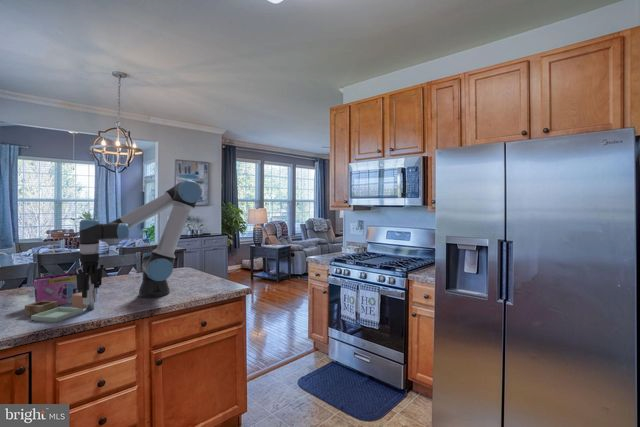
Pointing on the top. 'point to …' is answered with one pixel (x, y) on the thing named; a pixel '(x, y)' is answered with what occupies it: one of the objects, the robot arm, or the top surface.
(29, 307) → the bore block
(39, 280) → the gum box
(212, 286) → the top surface
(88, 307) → the pin
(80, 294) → the cube
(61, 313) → the tray
